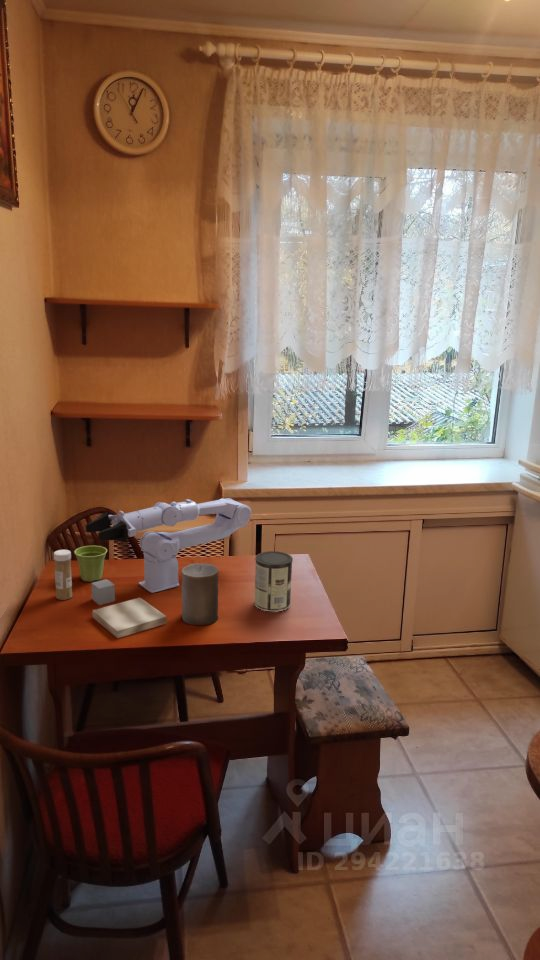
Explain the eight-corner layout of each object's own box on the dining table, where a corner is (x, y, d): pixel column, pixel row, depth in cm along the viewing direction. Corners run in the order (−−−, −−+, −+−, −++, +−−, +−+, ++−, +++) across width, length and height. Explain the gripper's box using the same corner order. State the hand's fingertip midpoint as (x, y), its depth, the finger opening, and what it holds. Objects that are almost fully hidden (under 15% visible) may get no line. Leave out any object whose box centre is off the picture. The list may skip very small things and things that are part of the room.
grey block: (107, 595, 193) (106, 579, 192) (114, 601, 189) (114, 584, 188) (92, 599, 190) (91, 582, 189) (99, 605, 187) (99, 588, 185)
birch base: (140, 604, 188) (139, 597, 188) (166, 623, 178) (166, 616, 177) (92, 617, 179) (92, 610, 179) (117, 638, 169) (117, 631, 169)
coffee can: (271, 593, 198) (273, 548, 195) (297, 605, 191) (300, 558, 188) (246, 604, 191) (247, 557, 187) (273, 616, 184) (275, 567, 180)
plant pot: (82, 570, 209) (82, 544, 207) (112, 573, 208) (111, 546, 206) (70, 582, 200) (69, 555, 198) (100, 585, 199) (100, 557, 197)
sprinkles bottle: (74, 598, 190) (73, 553, 187) (58, 601, 188) (56, 556, 184) (69, 592, 194) (67, 547, 190) (53, 595, 191) (51, 550, 188)
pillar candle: (225, 618, 182) (226, 565, 178) (197, 629, 175) (197, 575, 171) (202, 606, 188) (202, 555, 185) (173, 617, 182) (173, 564, 178)
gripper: (124, 501, 195) (79, 511, 187) (149, 514, 184) (103, 526, 176) (125, 524, 197) (81, 535, 189) (151, 538, 186) (105, 551, 178)
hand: (92, 532), depth 183 cm, fingers open, 7 cm apart
